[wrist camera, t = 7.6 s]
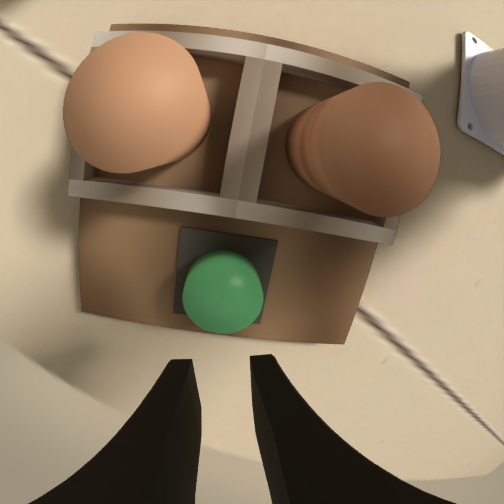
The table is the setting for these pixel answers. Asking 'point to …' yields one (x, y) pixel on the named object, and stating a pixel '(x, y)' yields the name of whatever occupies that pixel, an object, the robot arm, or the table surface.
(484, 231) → the table surface
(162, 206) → the wooden peg sorting tray
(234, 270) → the button
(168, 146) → the tan rounded peg
